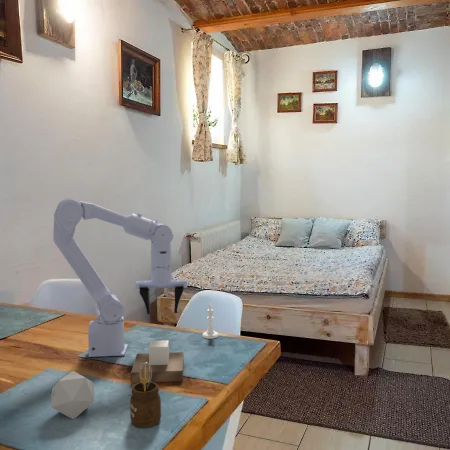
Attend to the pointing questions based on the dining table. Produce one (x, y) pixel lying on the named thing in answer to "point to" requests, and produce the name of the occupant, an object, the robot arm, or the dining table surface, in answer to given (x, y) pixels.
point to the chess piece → (210, 326)
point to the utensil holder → (145, 402)
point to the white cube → (159, 352)
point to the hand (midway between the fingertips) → (162, 312)
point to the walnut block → (159, 368)
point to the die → (72, 395)
